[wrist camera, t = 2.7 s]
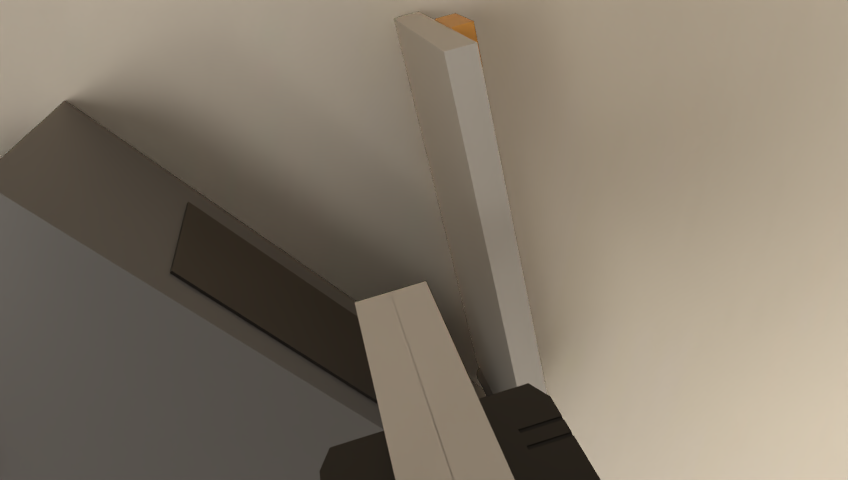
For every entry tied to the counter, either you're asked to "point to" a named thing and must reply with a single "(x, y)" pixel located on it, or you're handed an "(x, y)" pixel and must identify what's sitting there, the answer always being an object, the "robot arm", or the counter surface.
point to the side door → (472, 195)
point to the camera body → (160, 327)
